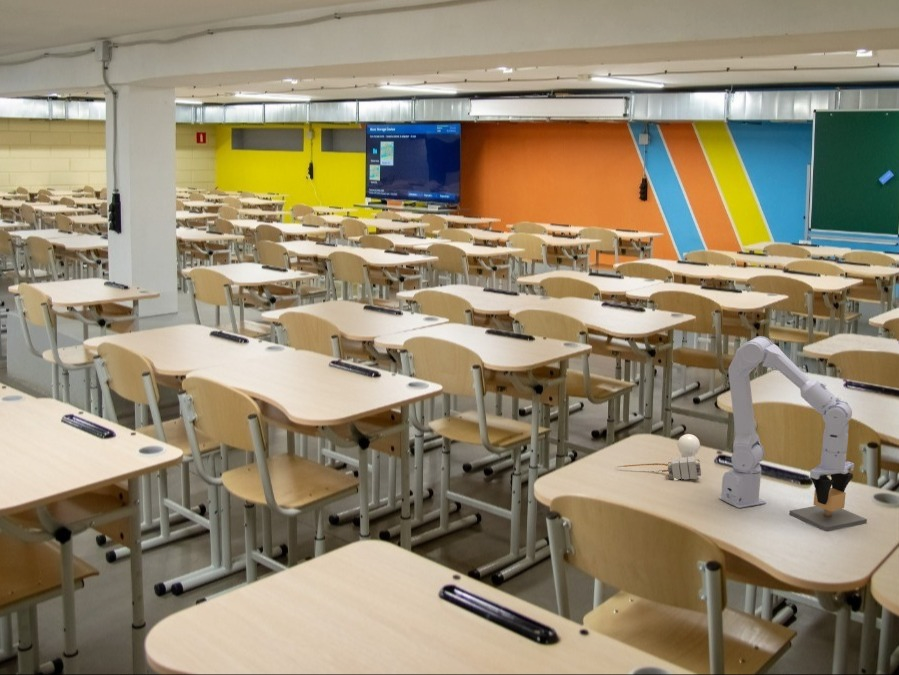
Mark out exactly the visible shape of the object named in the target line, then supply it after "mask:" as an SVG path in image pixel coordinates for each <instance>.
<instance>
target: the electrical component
mask: <svg viewBox="0 0 899 675" xmlns="http://www.w3.org/2000/svg"><path fill="white" fill-rule="evenodd" d="M636 466H637V467H639V466H667V469H663V470H662V469H661V470H660V471H662V472H661V473H664V472H668V478H669V479H673V478H676V479H681V480H682V479H684V480H694V479H699V478H698V477H700V476H702V471H701V469H702V468H701V462H700V459H696V455H695V456H692V457H688V460H687V457H682V456H681V457H674V458H671V459H670V461H669V462H668V463H642V464H641V463H640V464H627V465H617V467H616V468H623V467H636Z"/></svg>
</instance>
